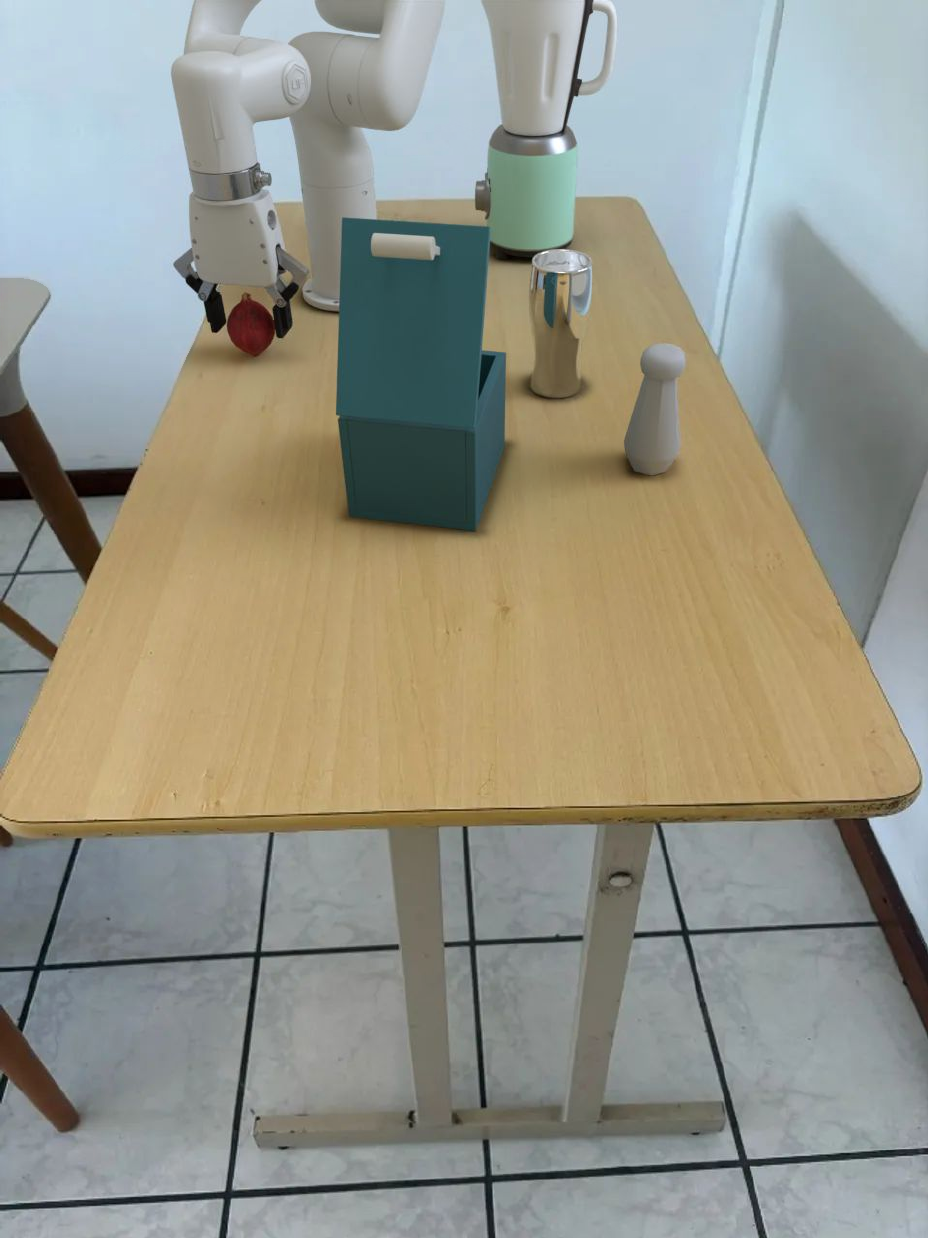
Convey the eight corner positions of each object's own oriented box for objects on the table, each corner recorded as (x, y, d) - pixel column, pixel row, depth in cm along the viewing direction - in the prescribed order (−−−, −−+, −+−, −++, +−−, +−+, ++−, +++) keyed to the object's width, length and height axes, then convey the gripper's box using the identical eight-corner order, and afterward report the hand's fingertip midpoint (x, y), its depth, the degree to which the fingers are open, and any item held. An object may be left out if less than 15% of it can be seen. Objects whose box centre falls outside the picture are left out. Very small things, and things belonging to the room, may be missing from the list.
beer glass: (581, 403, 110) (591, 275, 100) (521, 397, 111) (525, 270, 101) (587, 374, 115) (597, 249, 105) (530, 369, 116) (535, 246, 106)
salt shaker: (680, 454, 102) (698, 339, 93) (674, 483, 98) (693, 366, 89) (625, 446, 103) (638, 332, 95) (617, 475, 99) (630, 359, 90)
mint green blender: (470, 263, 141) (468, -19, 118) (477, 230, 151) (476, -36, 128) (600, 266, 140) (624, -19, 116) (598, 233, 150) (620, -36, 126)
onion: (284, 361, 119) (274, 299, 114) (238, 369, 118) (226, 307, 112) (273, 341, 123) (263, 280, 118) (228, 350, 122) (217, 288, 116)
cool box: (390, 434, 106) (383, 341, 99) (504, 445, 104) (506, 351, 96) (348, 516, 94) (337, 419, 87) (475, 531, 92) (475, 432, 85)
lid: (344, 217, 82) (325, 211, 77) (491, 227, 80) (480, 220, 75) (338, 414, 87) (319, 419, 82) (476, 427, 85) (465, 433, 80)
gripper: (311, 174, 108) (328, 323, 119) (168, 166, 110) (198, 312, 122) (289, 197, 102) (308, 350, 114) (138, 187, 105) (172, 338, 117)
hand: (251, 330), depth 118 cm, fingers open, 7 cm apart
